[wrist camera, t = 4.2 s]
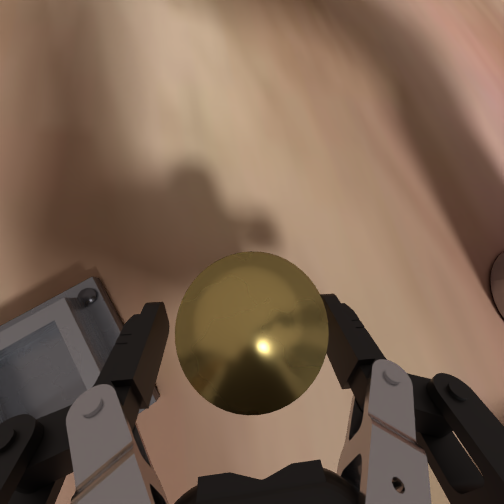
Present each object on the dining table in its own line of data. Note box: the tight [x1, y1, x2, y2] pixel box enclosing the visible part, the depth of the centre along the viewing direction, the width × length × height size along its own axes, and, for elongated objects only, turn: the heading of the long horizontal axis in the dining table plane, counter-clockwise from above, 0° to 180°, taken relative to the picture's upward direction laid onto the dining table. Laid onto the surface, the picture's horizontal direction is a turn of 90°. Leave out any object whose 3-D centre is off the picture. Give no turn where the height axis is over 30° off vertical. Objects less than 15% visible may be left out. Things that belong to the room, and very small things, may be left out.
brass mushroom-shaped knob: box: [175, 252, 329, 415], centre depth 11 cm, size 5×5×11 cm
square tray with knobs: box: [0, 277, 160, 423], centre depth 13 cm, size 10×10×3 cm
